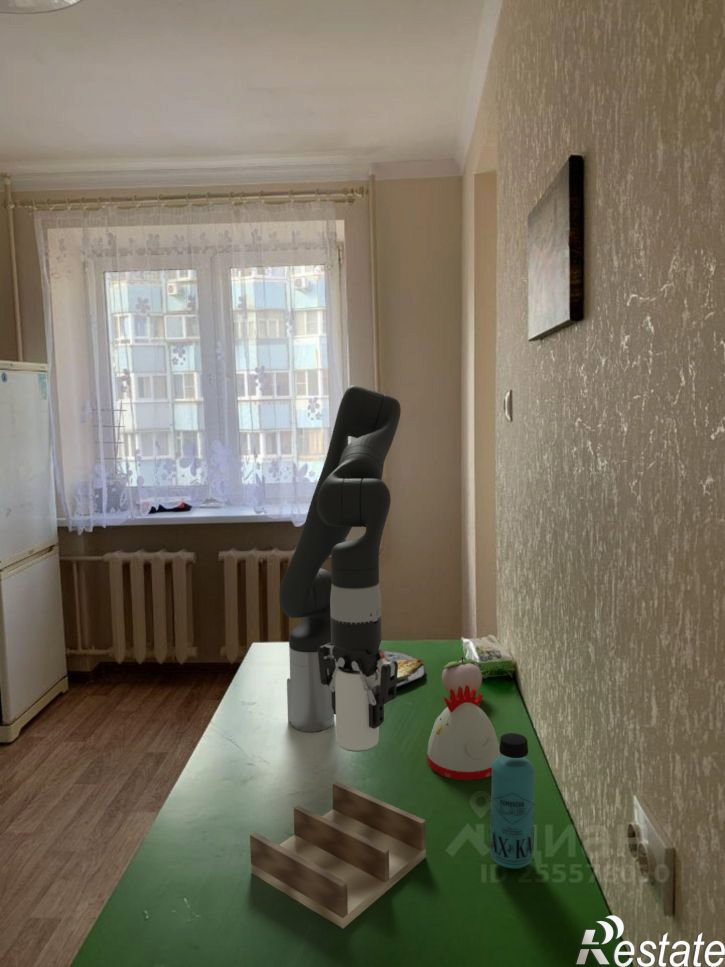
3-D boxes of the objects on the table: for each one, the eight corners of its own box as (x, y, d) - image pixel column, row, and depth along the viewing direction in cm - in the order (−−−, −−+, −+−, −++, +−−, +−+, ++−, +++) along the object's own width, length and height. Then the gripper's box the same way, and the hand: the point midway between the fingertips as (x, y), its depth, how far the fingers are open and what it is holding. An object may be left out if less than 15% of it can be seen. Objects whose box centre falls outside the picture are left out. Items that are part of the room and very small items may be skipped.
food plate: (379, 650, 199) (379, 638, 198) (443, 674, 182) (443, 661, 181) (307, 678, 182) (306, 664, 182) (371, 707, 165) (370, 692, 165)
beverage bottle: (484, 852, 111) (485, 728, 109) (526, 849, 112) (528, 726, 109) (495, 881, 105) (496, 749, 102) (540, 877, 105) (542, 746, 103)
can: (374, 754, 107) (373, 675, 105) (331, 750, 108) (330, 673, 106) (382, 734, 113) (381, 659, 111) (341, 731, 114) (340, 657, 113)
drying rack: (251, 872, 107) (249, 835, 107) (337, 814, 122) (336, 781, 121) (343, 928, 96) (342, 886, 95) (425, 857, 110) (425, 820, 110)
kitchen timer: (414, 752, 143) (414, 679, 141) (474, 738, 148) (474, 667, 146) (451, 787, 130) (451, 707, 128) (515, 770, 136) (516, 693, 134)
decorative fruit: (458, 710, 161) (458, 667, 160) (436, 697, 168) (436, 655, 167) (490, 701, 166) (491, 658, 164) (468, 688, 173) (468, 648, 172)
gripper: (303, 609, 109) (305, 715, 111) (378, 628, 100) (379, 743, 102) (336, 598, 115) (338, 699, 117) (410, 615, 106) (410, 724, 108)
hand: (357, 719), depth 110 cm, fingers closed on can, 6 cm apart
